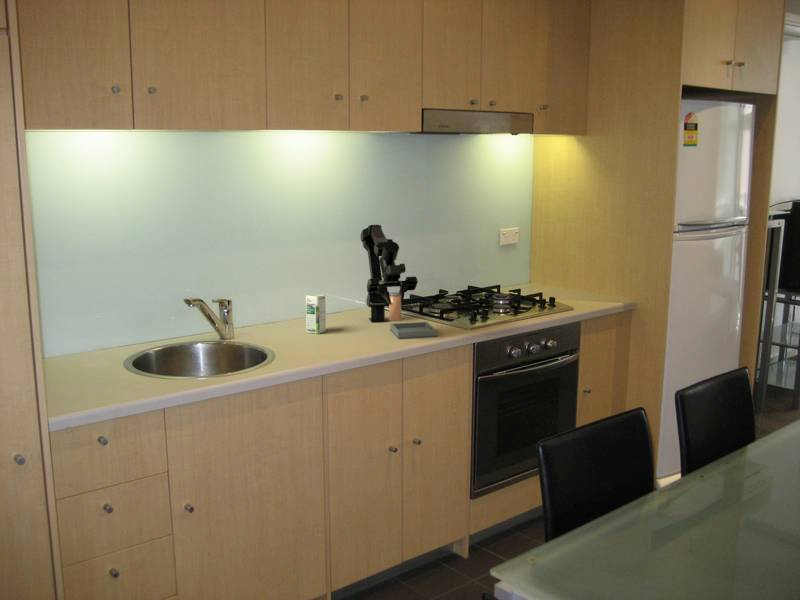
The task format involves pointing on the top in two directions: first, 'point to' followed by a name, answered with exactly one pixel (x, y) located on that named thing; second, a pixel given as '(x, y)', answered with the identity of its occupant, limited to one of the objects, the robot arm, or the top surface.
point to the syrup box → (315, 314)
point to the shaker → (395, 306)
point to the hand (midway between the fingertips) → (396, 303)
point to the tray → (413, 330)
